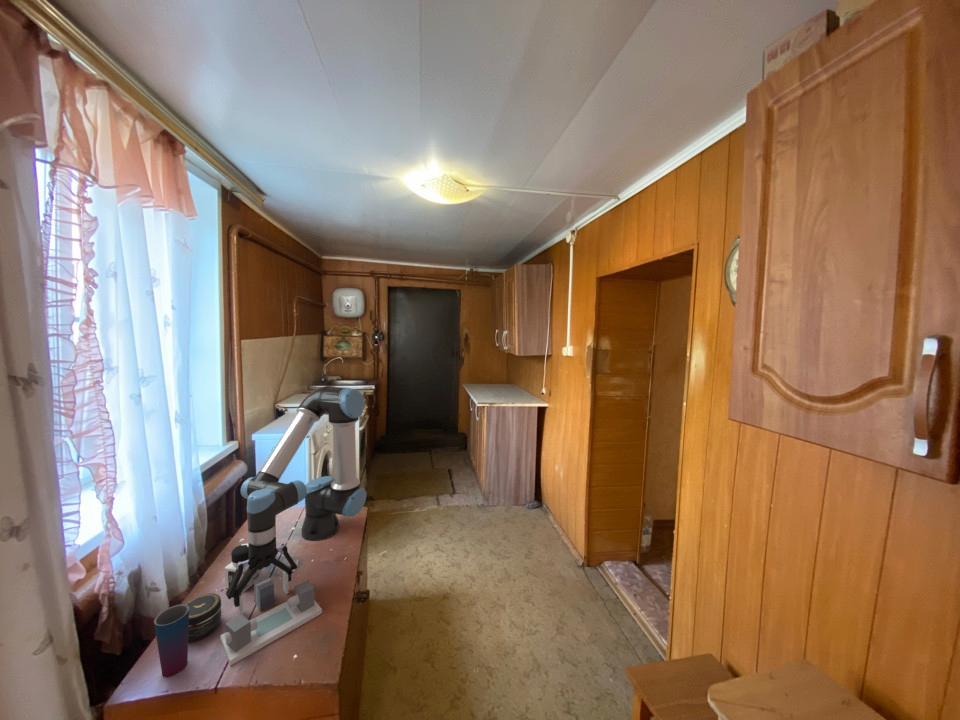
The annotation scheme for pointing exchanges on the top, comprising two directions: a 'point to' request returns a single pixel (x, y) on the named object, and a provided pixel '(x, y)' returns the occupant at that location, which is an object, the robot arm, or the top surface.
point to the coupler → (263, 592)
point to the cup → (172, 639)
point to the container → (237, 555)
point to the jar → (203, 616)
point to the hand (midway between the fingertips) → (264, 602)
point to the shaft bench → (269, 624)
